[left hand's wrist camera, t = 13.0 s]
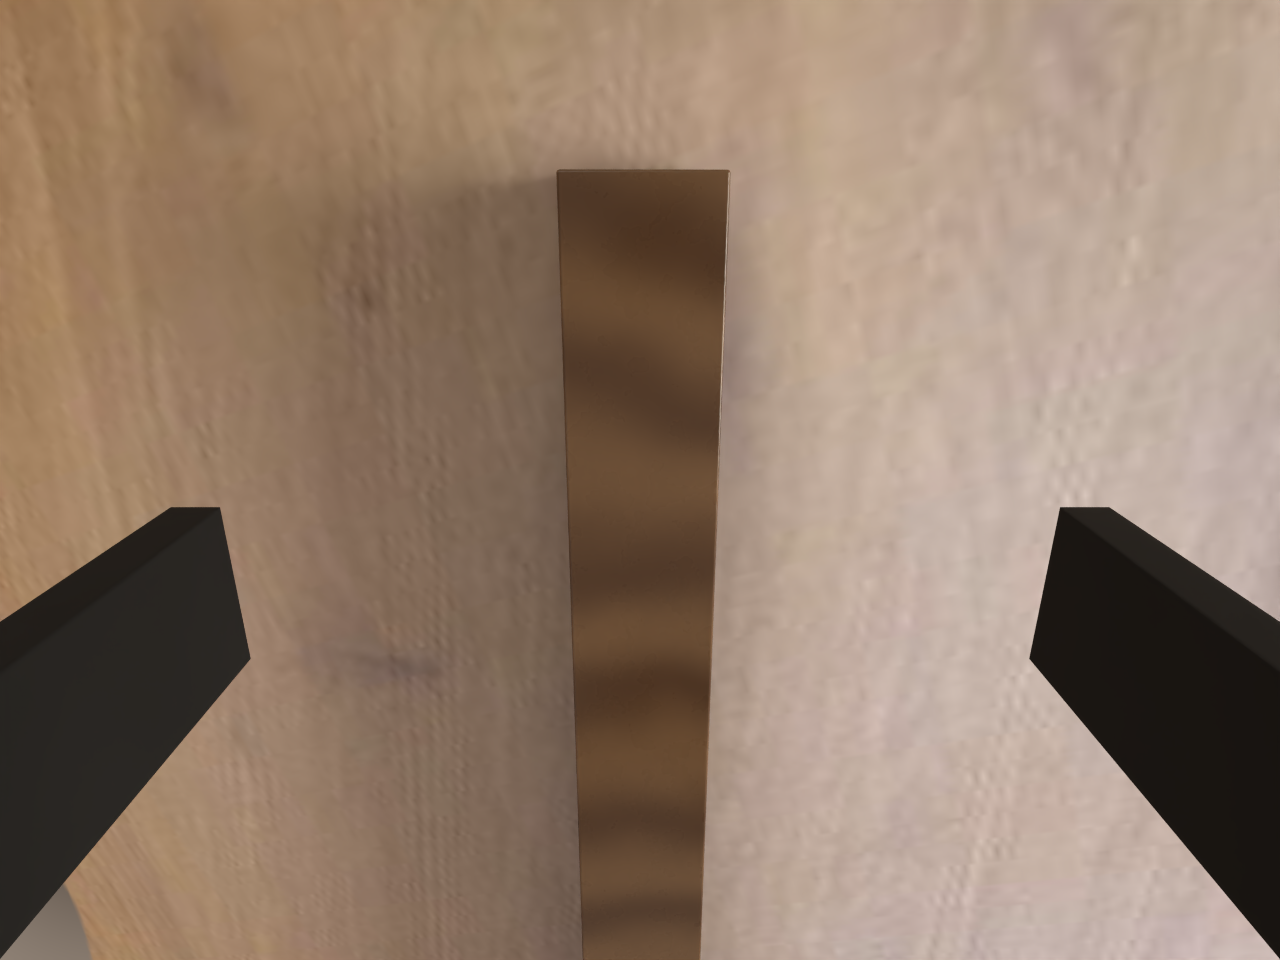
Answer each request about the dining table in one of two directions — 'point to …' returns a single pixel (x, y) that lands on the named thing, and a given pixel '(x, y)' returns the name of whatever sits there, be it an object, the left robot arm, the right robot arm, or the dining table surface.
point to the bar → (642, 539)
